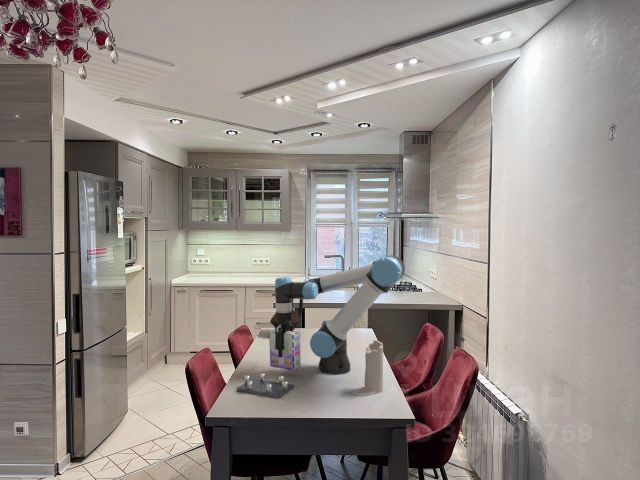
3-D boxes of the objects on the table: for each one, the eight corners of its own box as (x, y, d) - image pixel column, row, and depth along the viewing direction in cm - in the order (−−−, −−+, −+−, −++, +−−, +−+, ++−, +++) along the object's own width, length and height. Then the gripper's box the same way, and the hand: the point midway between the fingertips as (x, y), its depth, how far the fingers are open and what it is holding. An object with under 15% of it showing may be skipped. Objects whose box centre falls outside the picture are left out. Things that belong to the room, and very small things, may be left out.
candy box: (301, 367, 193) (300, 331, 192) (293, 371, 188) (292, 334, 187) (277, 363, 200) (276, 328, 200) (269, 366, 195) (268, 331, 195)
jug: (275, 341, 251) (275, 290, 251) (266, 334, 268) (266, 287, 268) (308, 337, 260) (308, 288, 259) (297, 331, 277) (297, 285, 276)
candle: (348, 391, 173) (348, 342, 172) (375, 385, 179) (375, 338, 179) (358, 397, 166) (358, 347, 166) (386, 391, 173) (386, 342, 173)
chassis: (293, 388, 176) (293, 377, 176) (280, 398, 165) (280, 387, 165) (252, 381, 184) (252, 371, 184) (237, 391, 173) (236, 380, 173)
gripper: (286, 307, 204) (287, 355, 204) (266, 314, 186) (267, 367, 186) (300, 308, 201) (301, 356, 201) (281, 315, 183) (282, 368, 183)
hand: (285, 361), depth 194 cm, fingers closed on candy box, 6 cm apart
